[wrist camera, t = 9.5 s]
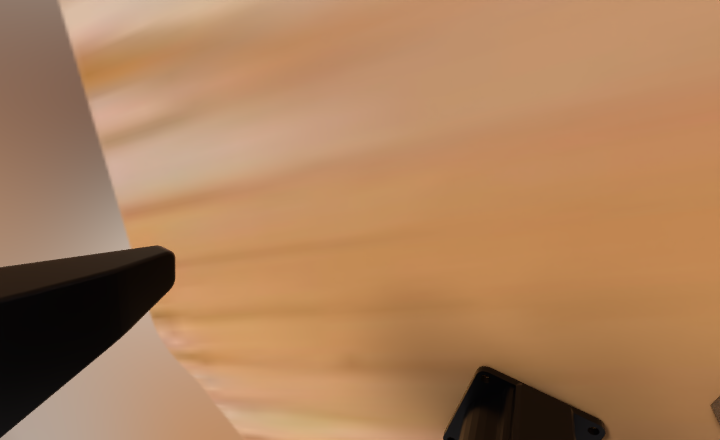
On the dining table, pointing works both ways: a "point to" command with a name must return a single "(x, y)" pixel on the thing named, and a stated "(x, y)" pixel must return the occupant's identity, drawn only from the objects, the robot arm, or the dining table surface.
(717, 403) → the press base
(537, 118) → the dining table surface
